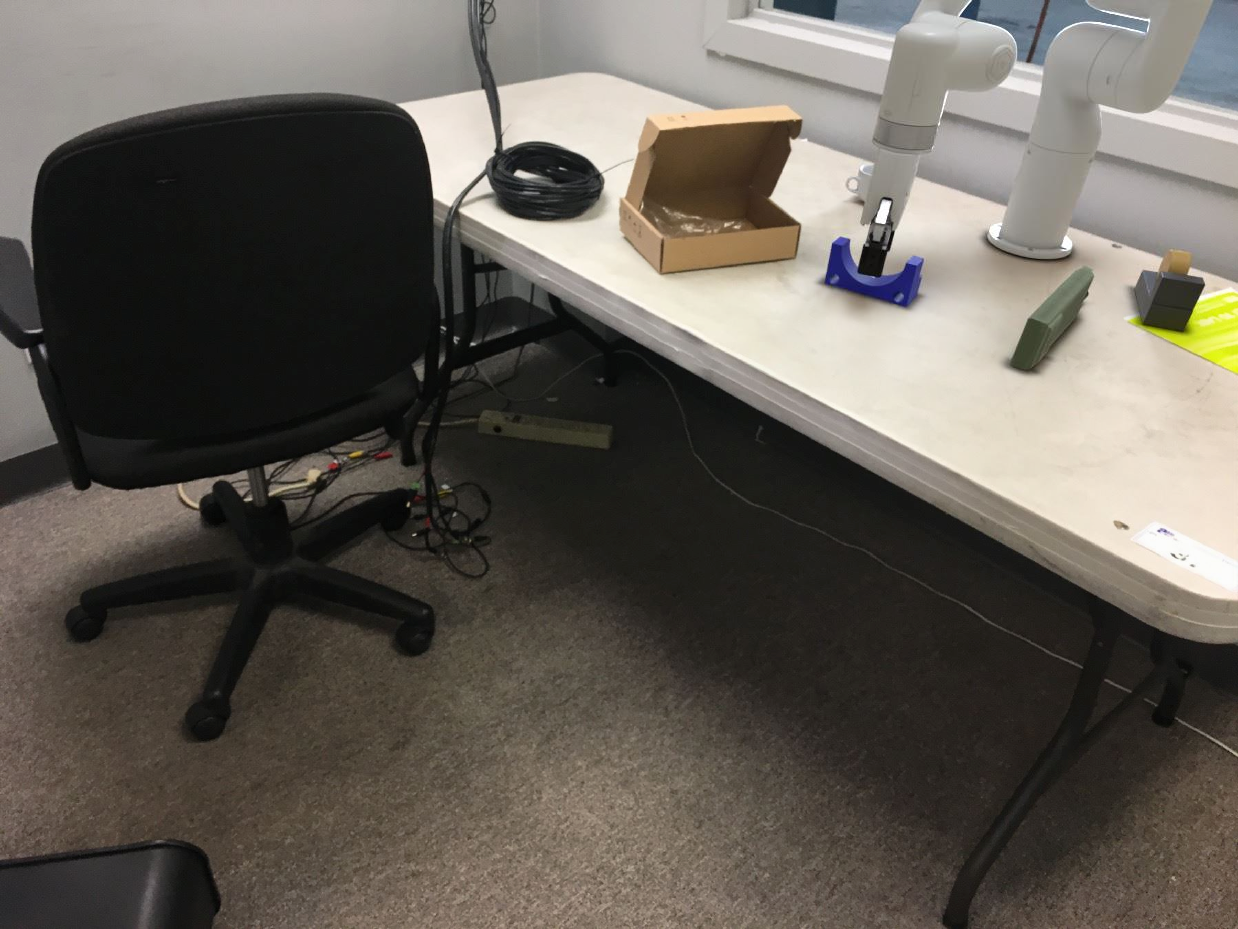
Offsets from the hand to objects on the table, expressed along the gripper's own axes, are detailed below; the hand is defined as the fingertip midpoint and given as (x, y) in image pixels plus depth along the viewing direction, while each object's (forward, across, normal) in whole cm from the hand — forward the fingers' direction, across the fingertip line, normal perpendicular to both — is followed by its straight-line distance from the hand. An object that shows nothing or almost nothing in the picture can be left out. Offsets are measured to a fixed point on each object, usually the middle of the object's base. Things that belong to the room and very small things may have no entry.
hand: (873, 261), depth 119 cm
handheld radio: (+4, +2, +24) cm, 25 cm away
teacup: (+4, -36, -5) cm, 37 cm away
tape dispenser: (+4, -12, +38) cm, 40 cm away
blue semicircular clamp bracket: (+4, 0, 0) cm, 4 cm away
